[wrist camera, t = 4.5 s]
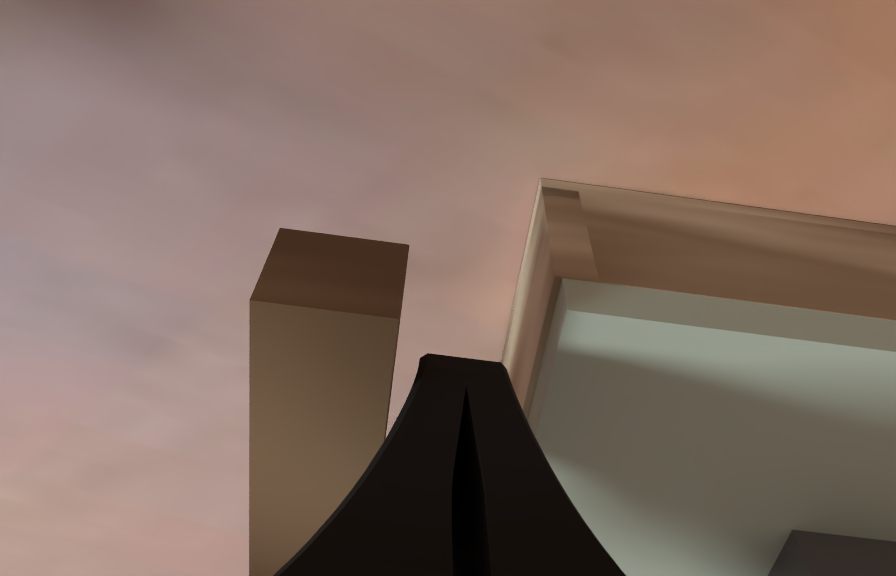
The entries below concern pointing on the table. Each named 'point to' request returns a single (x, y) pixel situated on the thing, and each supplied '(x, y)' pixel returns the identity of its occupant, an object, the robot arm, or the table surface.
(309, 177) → the table surface
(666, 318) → the lid
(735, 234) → the open wooden tray
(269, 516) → the brown rectangular block
